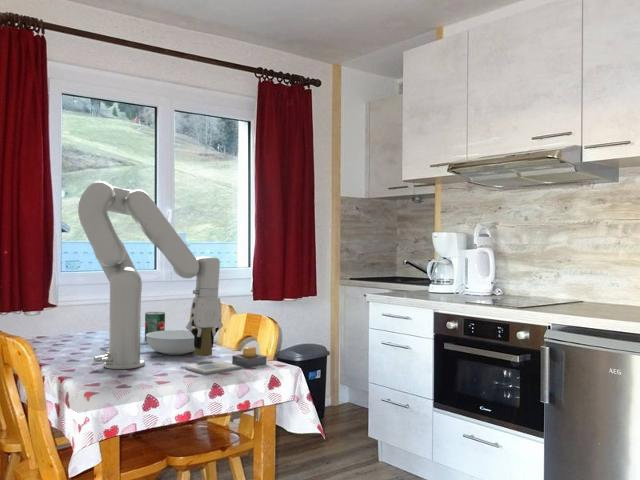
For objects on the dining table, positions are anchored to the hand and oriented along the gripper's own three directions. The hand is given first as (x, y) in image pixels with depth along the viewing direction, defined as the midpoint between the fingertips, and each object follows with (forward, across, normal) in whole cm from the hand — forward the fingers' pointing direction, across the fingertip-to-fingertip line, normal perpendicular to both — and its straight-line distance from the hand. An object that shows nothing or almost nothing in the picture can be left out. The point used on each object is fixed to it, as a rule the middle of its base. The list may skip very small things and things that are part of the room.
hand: (203, 347), depth 198 cm
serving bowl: (+5, +1, +19) cm, 20 cm away
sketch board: (+5, -4, -12) cm, 14 cm away
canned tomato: (+6, +9, +49) cm, 51 cm away
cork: (+3, 0, 0) cm, 3 cm away
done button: (+2, +9, -14) cm, 16 cm away
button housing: (+4, +9, -14) cm, 17 cm away
